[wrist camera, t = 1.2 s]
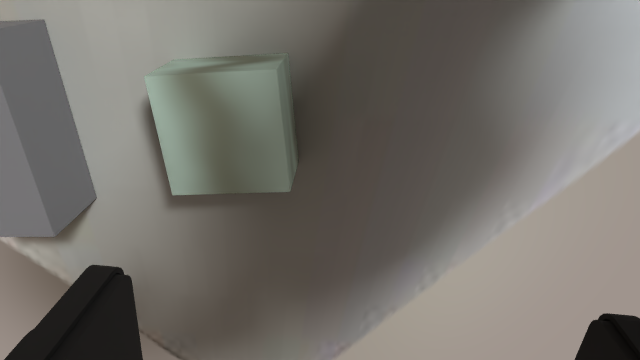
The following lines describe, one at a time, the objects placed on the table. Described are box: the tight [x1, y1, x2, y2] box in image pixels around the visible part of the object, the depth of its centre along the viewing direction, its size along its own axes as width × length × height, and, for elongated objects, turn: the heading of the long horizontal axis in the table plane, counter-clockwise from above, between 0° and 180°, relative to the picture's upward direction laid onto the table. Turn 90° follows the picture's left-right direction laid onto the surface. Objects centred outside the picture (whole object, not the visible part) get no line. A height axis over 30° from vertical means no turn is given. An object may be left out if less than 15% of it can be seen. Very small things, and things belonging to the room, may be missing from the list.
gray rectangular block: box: [0, 20, 97, 237], centre depth 27 cm, size 4×12×5 cm, turn 3°
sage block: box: [144, 53, 299, 195], centre depth 27 cm, size 7×7×4 cm
